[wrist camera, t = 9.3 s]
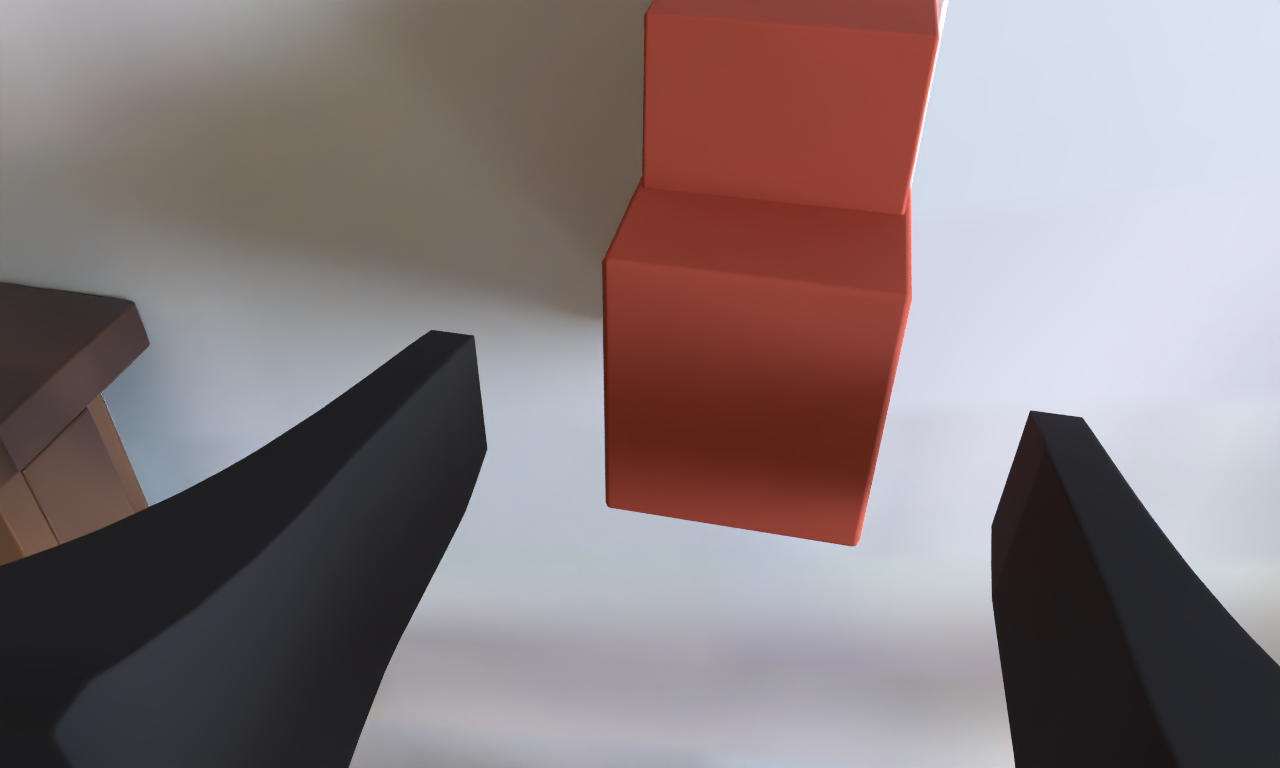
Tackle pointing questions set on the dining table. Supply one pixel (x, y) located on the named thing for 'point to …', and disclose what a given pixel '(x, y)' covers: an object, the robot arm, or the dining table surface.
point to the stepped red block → (765, 260)
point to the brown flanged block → (62, 417)
